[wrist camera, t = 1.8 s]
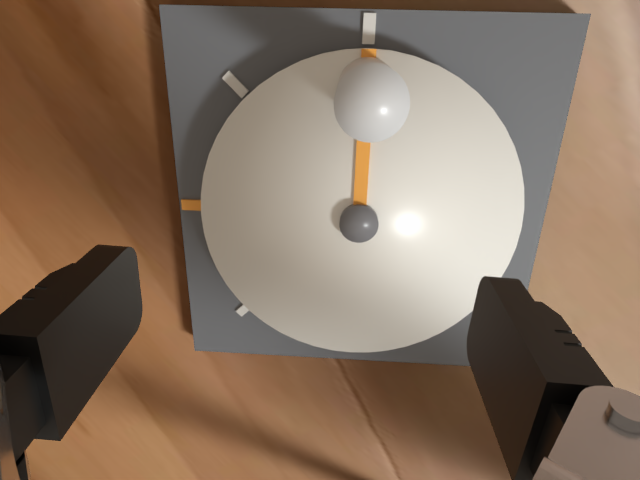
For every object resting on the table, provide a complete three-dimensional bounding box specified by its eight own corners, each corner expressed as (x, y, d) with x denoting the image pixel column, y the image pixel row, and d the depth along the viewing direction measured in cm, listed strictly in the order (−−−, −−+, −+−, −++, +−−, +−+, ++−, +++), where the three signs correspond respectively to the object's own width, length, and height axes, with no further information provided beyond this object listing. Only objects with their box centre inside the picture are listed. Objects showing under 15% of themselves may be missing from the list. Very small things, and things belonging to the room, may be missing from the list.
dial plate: (578, 14, 27) (592, 13, 25) (503, 355, 37) (510, 370, 35) (168, 5, 28) (157, 4, 27) (200, 338, 38) (194, 352, 36)
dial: (488, 347, 34) (528, 439, 26) (217, 332, 35) (179, 416, 27) (547, 52, 26) (630, 60, 18) (194, 43, 27) (131, 47, 19)
